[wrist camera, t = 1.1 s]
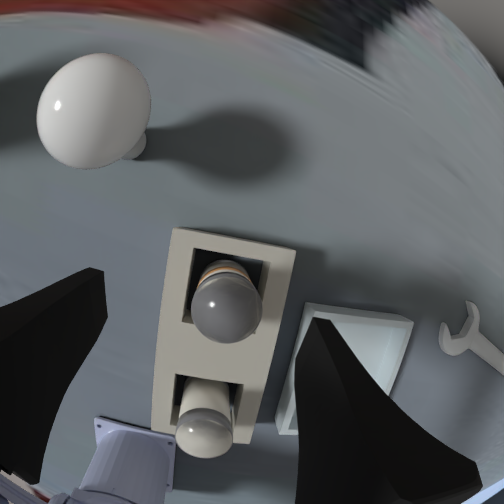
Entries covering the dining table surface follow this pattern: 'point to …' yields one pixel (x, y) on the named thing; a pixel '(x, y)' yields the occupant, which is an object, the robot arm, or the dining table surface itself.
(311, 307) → the parts tray
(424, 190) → the dining table surface
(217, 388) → the cylinder
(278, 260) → the fuse block
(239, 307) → the fuse
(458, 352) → the wrench
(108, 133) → the lightbulb
